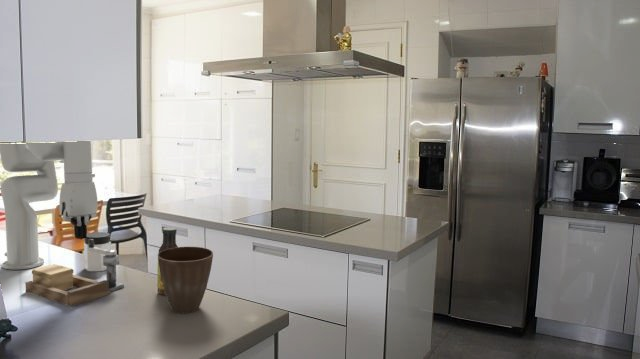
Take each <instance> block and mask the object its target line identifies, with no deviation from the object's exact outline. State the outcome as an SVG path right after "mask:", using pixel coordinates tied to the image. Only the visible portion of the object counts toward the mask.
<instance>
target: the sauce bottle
mask: <svg viewBox="0 0 640 359" xmlns="http://www.w3.org/2000/svg"><path fill="white" fill-rule="evenodd" d="M176 238H177V228H175V227H164V228H162V243H161V246H160V247H159V248H158V253H159V252H161V251H163V250H166V249H170V248H176V247H179V246H178V244H177V240H176ZM156 274H157V276H156V278H157V280H156V281H157V282H156V287H157V291H156V292H157V293H158V294H160V295H165V296H166V293H165V289H164V286H163V282H162V278H161V273H160V268H159V261H158V260H157V272H156Z"/></svg>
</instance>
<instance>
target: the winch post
mask: <svg viewBox="0 0 640 359" xmlns="http://www.w3.org/2000/svg"><path fill="white" fill-rule="evenodd" d="M103 265H104V266H106V270H105V271H106V281H108V282H109V293H112V292H113V291H117V290H120V289H123V288H125V284H124V283H120V282H117V266H118V265H120V255H119V254H117V255H116V256H114V257H106V256H103Z"/></svg>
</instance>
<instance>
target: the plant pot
mask: <svg viewBox="0 0 640 359" xmlns="http://www.w3.org/2000/svg"><path fill="white" fill-rule="evenodd" d="M213 258H214V252H213V250H211V249H209V248H205V247H200V246H178V247H176V248H170V249H166V250H163V251H161V252H159V251H158V253H157V262H158V261H159V268H160V273H161V278H162V282H163V286H164V289H165V293H166V295H165V296H166V298H167V300H168V301H167V302H168V303H169V306H170V309H171V311H172V312H175V313H177V314H191V313H194V312H196V311H198V310H199V308H200V307H201V304H202V301H203V298H204V296H205V292H206V289H207V286H208V283H209V278H210V274H211V270H212V265H213Z"/></svg>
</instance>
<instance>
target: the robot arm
mask: <svg viewBox="0 0 640 359" xmlns="http://www.w3.org/2000/svg"><path fill="white" fill-rule="evenodd" d="M92 157H93V156H92V141H91V140H90V141H77V142H57V143H26V144H0V160H1V165H2V167H3V169H4V170H5V171H6V172H7V173H25V172H26V173H29V172H30V173H31V172H36V174H28V175H27V174H26V175H14V176H10V177H7V178H6V179H4V180H3V181H2V182H1V183H0V184H1V185H0V194H1V197H2V202H3V207H4V215H5V217H4V218H5V220H4V221H5V235H6V236H5V237H6V238H5V239H6V252H5V253H4V257H6V261H3V263H2V264H1V266H2V268H3V269H5V270H10V271H12V270H13V271H15V270H19V271H20V270H28V269H33V268H38V267H39V266H42V265H43V264H44V263H45V260H44V258H42V257H40V255H39V232H38V231H39V229H38V228H39V227H38V225H39V224H38V214H37V212H36V211H35V209H34V208H33V207H32V206H31V205H30V203H31V204H32V203H37V202H46V201H51V200H54V199H55V198H56V197H57V195H58V193H59V192H60V193H59V205H58V206H59V215H60V216H62V220H61V221H63V222H66V223H67V222H68V223H71V224H72V226H73V227H74V228H73V231H74V237H75V239H77V240H85V238H87V235H86V234H88V232H87V228H88V227H87V226H88V225H89V222H90V221H91V219H93V218H96V217H97V216H98V214H97V213H98V209H99V208H98V206H99V204H98V195H97V189H96V188H97V187H96V184H95V181H93V178H95V176H96V174H95V172H94V173H93V162H92ZM55 161H63V171H64V172H63V174H64V178H63V179H64V182H63V183H61V185H60V186H61V187H60V191H59V186H58V179H57V178H58V177H57V172H56V167H55V166H56V165H55Z"/></svg>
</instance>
